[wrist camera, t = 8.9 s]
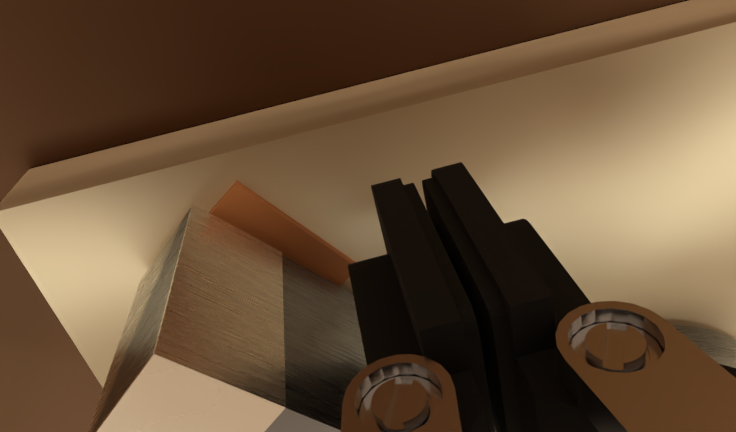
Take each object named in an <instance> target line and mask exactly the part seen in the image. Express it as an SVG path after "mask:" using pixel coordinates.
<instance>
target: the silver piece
mask: <svg viewBox="0 0 736 432" xmlns="http://www.w3.org/2000/svg"><path fill="white" fill-rule="evenodd" d="M672 326H674V327H675V328H676V329H677V330H678V331H680V332H681V333H682V334H683V335H684V336H686V337H687V338H688V339H689V340H690V341H692V342H693V343H694V344H695V345H697V346H698V347H699V348H700V349H701V350H703V351H704V352H705V353H706V354H707V355H709V356H710V357H711V358H712V359H713V360H715V361H716V362H717V363H718V364H722V365H726V366H729V367H733V368H736V340H735V339H733V338H732V337H729V336H726V335H724V334H721V333H718V332H716V331H712V330H707V329H702V328H698V327H690V326H676V325H672ZM366 366H367V363H366V358H365V353H364V348H363V343H362V338H361V332H360V327H359V322H358V317H357V312H356V307H355V301H354V296H353V293H352V292H350V291H348V290H347V289H345V288H343V287H341V286H339V285H337V284H335V283H333V282H332V281H330V280H328V279H326V278H324V277H322V276H320V275H318V274H316V273H315V272H313V271H311V270H309V269H307V268H305V267H303V266H301V265H300V264H298V263H296V262H294V261H292V260H290V259H288V258H286V257H284V256H283V255H282V251H280V250H278V249H277V248H275V247H273V246H271V245H269V244H267V243H265V242H263V241H262V240H260V239H258V238H256V237H254V236H252V235H250V234H248V233H247V232H245V231H243V230H241V229H239V228H237V227H235V226H234V225H232V224H230V223H228V222H226V221H224V220H222V219H220V218H219V217H217V216H215V215H213V214H211V213H209V212H207V211H205V210H204V209H202V208H200V207H198V206H196V205H194V204H192V206H191V207H190V208H189V210H188V211H187V213H186V214H185V216H184V217H183V219H182V220H181V222H180V223H179V224H178V226H177V227H176V229H175V230H174V232H173V233H172V235H171V236H170V238H169V239H168V240H167V242H166V243H165V245H164V246H163V248H162V249H161V251H160V252H159V254H158V255H157V257H156V258H155V259H154V261H153V262H152V264H151V265H150V267H149V268H148V270H147V271H146V273H145V274H144V275H143V277H142V278H141V280H140V281H139V284H138V287H137V290H136V293H135V296H134V299H133V302H132V305H131V308H130V311H129V314H128V317H127V320H126V322H125V325H124V328H123V331H122V334H121V337H120V340H119V343H118V346H117V349H116V352H115V355H114V358H113V361H112V364H111V366H110V369H109V372H108V375H107V378H106V381H105V384H104V387H103V390H102V393H101V396H100V399H99V402H98V405H97V408H96V410H95V413H94V416H93V419H92V422H91V425H90V428H89V431H88V432H341V418H342V403H343V399H344V395H345V391H346V389H347V387H348V386H349V384H350V383H351V381H352V379H353V378H354V377H355V376H356V375H357V374H358V373H359V372H360V371H361V370H362V369H364V368H365V367H366ZM494 429H495V426H494ZM495 432H497V431H496V429H495Z"/></svg>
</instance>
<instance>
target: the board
mask: <svg viewBox="0 0 736 432" xmlns="http://www.w3.org/2000/svg"><path fill="white" fill-rule="evenodd" d="M459 162H462V163H463V164H464V166H465V167H466V169H467V170H468V172H469V173H470V175H471V176H472V177H473V179H474V180H475V182H476V183H477V185H478V186H479V188H480V189H481V191H482V192H483V194H484V195H485V196H486V198H487V199H488V201H489V202H490V204H491V205H492V207H493V208H494V210H495V211H496V212H497V214H498V215H499V217H500V218H501V220H502V221H503V223H508V222H512V221H515V220H519V219H526V220H527V221H528V222H529V223H530V224H531V225H532V226H533V228H534V229H535V230H536V232H537V233H538V234H539V235H540V237H541V238H542V239H543V241H544V242H545V243H546V245H547V246H548V247H549V249H550V250H551V251H552V252H553V254H554V255H555V256H556V258H557V259H558V260H559V262H560V263H561V264H562V265H563V267H564V268H565V269H566V271H567V272H568V273H569V275H570V276H571V277H572V279H573V280H574V281H575V282H576V284H577V285H578V286H579V288H580V289H581V290H582V292H583V293H584V294H585V296H586V297H587V298H588V299H589V301H590V302H591V303H594V302H600V301H619V302H626V303H633V304H635V305H638V306H641V307H644V308H647V309H650V310H651V311H653V312H654V313H656V314H658V315H659V316H661V317H662V318H664V319H665V320H666V321H668V322H669V323H670V324H671V325H676V326H690V327H698V328H702V329H707V330H712V331H716V332H718V333H721V334H724V335H726V336H729V337H732V338H733V339H735V340H736V0H688V1H684V2H681V3H677V4H673V5H669V6H665V7H661V8H657V9H653V10H649V11H645V12H641V13H638V14H634V15H630V16H626V17H622V18H618V19H614V20H610V21H606V22H602V23H598V24H595V25H591V26H587V27H583V28H579V29H575V30H571V31H567V32H563V33H559V34H555V35H551V36H548V37H544V38H540V39H536V40H532V41H528V42H524V43H520V44H516V45H512V46H508V47H505V48H501V49H497V50H493V51H489V52H485V53H481V54H477V55H473V56H469V57H465V58H462V59H458V60H454V61H450V62H446V63H442V64H438V65H434V66H430V67H426V68H422V69H418V70H415V71H411V72H407V73H403V74H399V75H395V76H391V77H387V78H383V79H379V80H375V81H372V82H368V83H364V84H360V85H356V86H352V87H348V88H344V89H340V90H336V91H332V92H329V93H325V94H321V95H317V96H313V97H309V98H305V99H301V100H297V101H293V102H289V103H286V104H282V105H278V106H274V107H270V108H266V109H262V110H258V111H254V112H250V113H246V114H242V115H239V116H235V117H231V118H227V119H223V120H219V121H215V122H211V123H207V124H203V125H199V126H196V127H192V128H188V129H184V130H180V131H176V132H172V133H168V134H164V135H160V136H156V137H153V138H149V139H145V140H141V141H137V142H133V143H129V144H125V145H121V146H117V147H113V148H109V149H106V150H102V151H98V152H94V153H90V154H86V155H82V156H78V157H74V158H70V159H66V160H63V161H59V162H55V163H51V164H47V165H43V166H39V167H35V168H31V169H29V170H28V171H27V172H26V173H25V174H24V175H23V177H22V178H21V179H20V180H19V181H18V182H17V184H16V185H15V186H14V187H13V188H12V189H11V190H10V192H9V193H8V194H7V195H6V196H5V197H4V198H3V200H2V201H1V202H0V229H1V230H2V232H3V233H4V235H5V236H6V238H7V239H8V241H9V243H10V244H11V246H12V247H13V249H14V250H15V252H16V253H17V255H18V257H19V258H20V260H21V261H22V263H23V264H24V266H25V267H26V269H27V271H28V272H29V274H30V275H31V277H32V278H33V280H34V281H35V283H36V285H37V286H38V288H39V289H40V291H41V292H42V294H43V295H44V297H45V299H46V300H47V302H48V303H49V305H50V306H51V308H52V309H53V311H54V313H55V314H56V316H57V317H58V319H59V320H60V322H61V323H62V325H63V327H64V328H65V330H66V331H67V333H68V334H69V336H70V337H71V339H72V341H73V342H74V344H75V345H76V347H77V348H78V350H79V351H80V353H81V355H82V356H83V358H84V359H85V361H86V362H87V364H88V365H89V367H90V369H91V370H92V372H93V373H94V375H95V376H96V378H97V379H98V381H99V383H100V384H101V386H102V387H104V384H105V381H106V378H107V375H108V372H109V369H110V366H111V364H112V361H113V358H114V355H115V352H116V349H117V346H118V343H119V340H120V337H121V334H122V331H123V328H124V325H125V322H126V320H127V317H128V314H129V311H130V308H131V305H132V302H133V299H134V296H135V293H136V290H137V287H138V284H139V281H140V280H141V278H142V277H143V275H144V274H145V273H146V271H147V270H148V268H149V267H150V265H151V264H152V262H153V261H154V259H155V258H156V257H157V255H158V254H159V252H160V251H161V249H162V248H163V246H164V245H165V243H166V242H167V240H168V239H169V238H170V236H171V235H172V233H173V232H174V230H175V229H176V227H177V226H178V224H179V223H180V222H181V220H182V219H183V217H184V216H185V214H186V213H187V211H188V210H189V208H190V207H191V206H192V204H194V205H196V206H198V207H200V208H202V209H204V210H205V211H207V212H209V213H211V214H213V215H215V216H217V217H219V218H220V219H222V220H224V221H226V222H228V223H230V224H232V225H234V226H235V227H237V228H239V229H241V230H243V231H245V232H247V233H248V234H250V235H252V236H254V237H256V238H258V239H260V240H262V241H263V242H265V243H267V244H269V245H271V246H273V247H275V248H277V249H278V250H280V251H282V255H283V256H284V257H286V258H288V259H290V260H292V261H294V262H296V263H298V264H300V265H301V266H303V267H305V268H307V269H309V270H311V271H313V272H315V273H316V274H318V275H320V276H322V277H324V278H326V279H328V280H330V281H332V282H333V283H335V284H337V285H339V286H341V287H343V288H345V289H347V290H348V291H350V292H352V293H353V291H352V286H351V281H350V276H349V270H348V264H351V263H355V262H359V261H363V260H366V259H370V258H374V257H378V256H382V255H386V254H387V251H386V247H385V243H384V239H383V235H382V231H381V227H380V223H379V218H378V214H377V210H376V206H375V202H374V198H373V194H372V189H371V185H375V184H379V183H383V182H386V181H390V180H394V179H398V178H400V179H401V181H402V183H403V185H406V184H410V183H414V184H415V186H416V189H417V191H418V193H419V195H420V197H421V199H422V201H423V203H424V205H425V208H426V203H425V197H424V192H423V187H422V180H425V179H429V178H432V177H431V170H432V169H436V168H440V167H444V166H448V165H452V164H455V163H459ZM426 210H427V208H426Z"/></svg>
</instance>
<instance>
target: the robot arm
mask: <svg viewBox="0 0 736 432" xmlns="http://www.w3.org/2000/svg"><path fill="white" fill-rule="evenodd" d="M431 177H432V178H429V179H425V180H422V187H423V192H424V197H425V203H426V208H427V210H426V208H425V205H424V203H423V201H422V199H421V197H420V195H419V193H418V191H417V189H416V186H415V184H414V183H410V184H406V185H403V183H402V181H401V179H400V178H398V179H394V180H390V181H386V182H383V183H379V184H375V185H371V189H372V194H373V198H374V202H375V206H376V210H377V214H378V218H379V223H380V227H381V231H382V235H383V239H384V243H385V247H386V251H387V254H386V255H382V256H378V257H374V258H370V259H366V260H363V261H359V262H355V263H351V264H348V270H349V276H350V281H351V286H352V291H353V296H354V301H355V307H356V312H357V317H358V322H359V327H360V332H361V338H362V343H363V348H364V353H365V358H366V363H367V366H366V367H365V368H364V369H362V370H361V371H360V372H359V373H358V374H357V375H356V376H355V377H354V378H353V379H352V381H351V383H350V384H349V386H348V387H347V389H346V391H345V395H344V399H343V403H342V418H341V432H495V429H496V431H497V432H736V368H733V367H729V366H726V365H722V364H718V363H717V362H716V361H715V360H713V359H712V358H711V357H710V356H709V355H707V354H706V353H705V352H704V351H703V350H701V349H700V348H699V347H698V346H697V345H695V344H694V343H693V342H692V341H690V340H689V339H688V338H687V337H686V336H684V335H683V334H682V333H681V332H680V331H678V330H677V329H676V328H675V327H674V326H672V325H671V324H670V323H669V322H668V321H666V320H665V319H664V318H662V317H661V316H659V315H658V314H656V313H654V312H653V311H651V310H650V309H647V308H644V307H641V306H638V305H635V304H633V303H626V302H619V301H600V302H594V303H591V302H590V301H589V299H588V298H587V297H586V296H585V294H584V293H583V292H582V290H581V289H580V288H579V286H578V285H577V284H576V282H575V281H574V280H573V279H572V277H571V276H570V275H569V273H568V272H567V271H566V269H565V268H564V267H563V265H562V264H561V263H560V262H559V260H558V259H557V258H556V256H555V255H554V254H553V252H552V251H551V250H550V249H549V247H548V246H547V245H546V243H545V242H544V241H543V239H542V238H541V237H540V235H539V234H538V233H537V232H536V230H535V229H534V228H533V226H532V225H531V224H530V223H529V222H528V221H527V220H526V219H519V220H515V221H512V222H508V223H503V221H502V220H501V218H500V217H499V215H498V214H497V212H496V211H495V210H494V208H493V207H492V205H491V204H490V202H489V201H488V199H487V198H486V196H485V195H484V194H483V192H482V191H481V189H480V188H479V186H478V185H477V183H476V182H475V180H474V179H473V177H472V176H471V175H470V173H469V172H468V170H467V169H466V167H465V166H464V164H463V163H462V162H459V163H455V164H452V165H448V166H444V167H440V168H436V169H432V170H431ZM494 426H495V429H494Z"/></svg>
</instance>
